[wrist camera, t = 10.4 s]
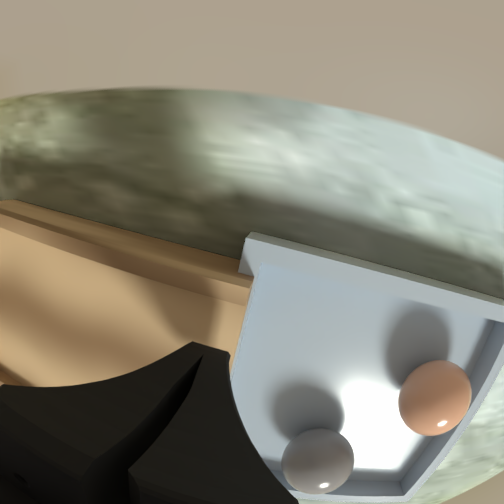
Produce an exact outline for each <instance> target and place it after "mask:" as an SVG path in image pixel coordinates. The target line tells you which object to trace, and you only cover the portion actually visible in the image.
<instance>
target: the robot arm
mask: <svg viewBox="0 0 504 504" xmlns="http://www.w3.org/2000/svg"><path fill="white" fill-rule="evenodd" d="M230 357H231V355H230V354H229V352H228V351H224V350H221V349H217V348H214V347H210V346H207V345H203V344H200V343H197V342H193V341H192V342H190V343H188V344H186V345H184V346H183V347H181V348H179V349H177V350H176V351H174V352H172V353H170V354H169V355H167V356H165V357H163V358H161V359H159V360H157V361H155V362H153V363H151V364H149V365H147V366H144V367H142V368H140V369H137V370H135V371H132V372H130V373H127V374H124V375H120V376H117V377H113V378H110V379H106V380H102V381H96V382H91V383H85V384H79V385H71V386H58V387H31V386H17V385H7V384H2V385H1V386H0V504H299V503H298V500H297V499H296V498H295V497H294V496H293V495H292V494H291V493H290V492H289V491H288V490H287V489H286V488H285V487H284V486H283V485H282V484H281V483H280V482H279V480H278V479H277V478H276V477H275V476H274V474H273V473H272V472H271V470H270V469H269V468H268V466H267V465H266V464H265V462H264V461H263V459H262V458H261V456H260V454H259V453H258V451H257V450H256V448H255V446H254V445H253V443H252V441H251V439H250V437H249V435H248V433H247V431H246V429H245V427H244V425H243V422H242V420H241V418H240V415H239V412H238V409H237V406H236V403H235V399H234V395H233V391H232V386H231V380H230V372H229V361H230Z"/></svg>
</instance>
